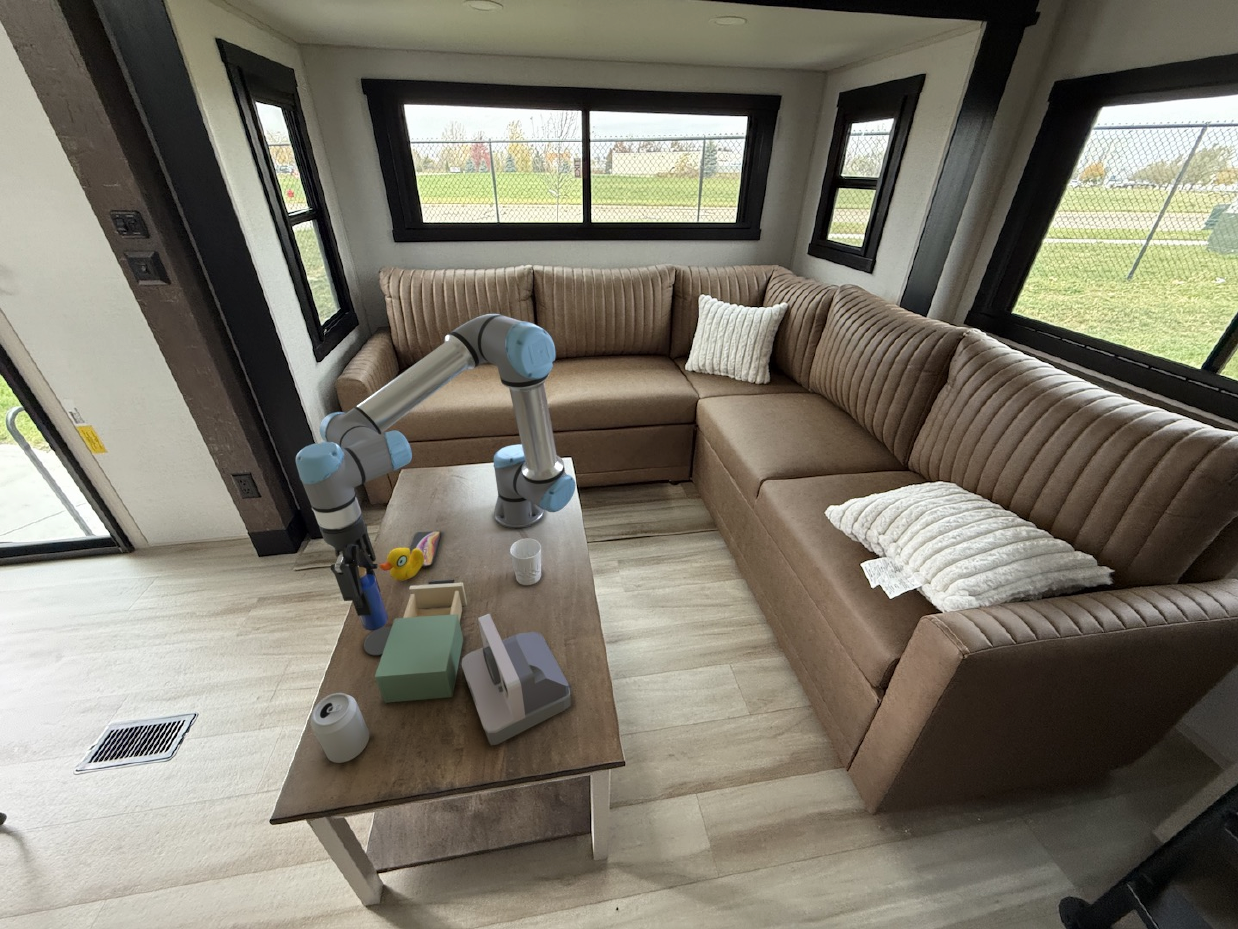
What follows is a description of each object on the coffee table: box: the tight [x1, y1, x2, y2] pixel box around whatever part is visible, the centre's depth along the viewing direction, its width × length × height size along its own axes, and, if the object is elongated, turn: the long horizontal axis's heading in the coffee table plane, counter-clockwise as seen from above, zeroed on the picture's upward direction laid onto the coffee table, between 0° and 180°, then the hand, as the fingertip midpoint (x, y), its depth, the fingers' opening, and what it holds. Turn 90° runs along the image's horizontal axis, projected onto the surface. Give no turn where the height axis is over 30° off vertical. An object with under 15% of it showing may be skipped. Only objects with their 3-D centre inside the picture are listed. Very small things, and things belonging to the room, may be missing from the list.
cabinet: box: [374, 614, 464, 704], centre depth 107 cm, size 15×14×9 cm
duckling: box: [378, 547, 424, 581], centre depth 129 cm, size 11×5×10 cm, turn 144°
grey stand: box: [461, 613, 572, 746], centre depth 101 cm, size 21×21×15 cm
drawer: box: [402, 578, 468, 622], centre depth 118 cm, size 18×12×7 cm
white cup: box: [509, 537, 542, 586], centre depth 131 cm, size 8×8×10 cm
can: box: [309, 692, 370, 764], centre depth 91 cm, size 8×8×12 cm
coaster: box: [363, 625, 392, 657], centre depth 115 cm, size 8×8×1 cm
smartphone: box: [409, 530, 442, 569], centre depth 141 cm, size 8×1×15 cm
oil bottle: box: [358, 566, 389, 632], centre depth 107 cm, size 5×5×15 cm
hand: (369, 603), depth 108 cm, fingers closed on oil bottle, 5 cm apart
